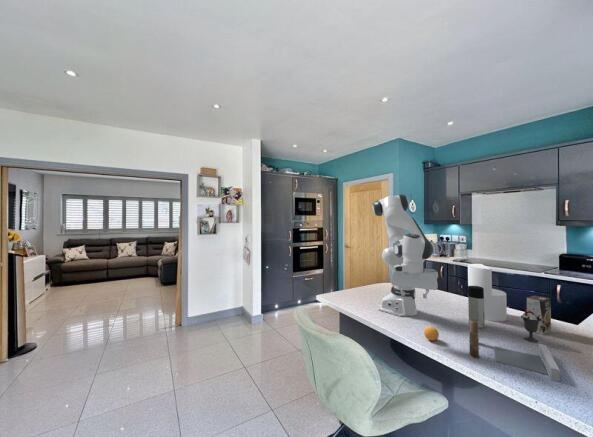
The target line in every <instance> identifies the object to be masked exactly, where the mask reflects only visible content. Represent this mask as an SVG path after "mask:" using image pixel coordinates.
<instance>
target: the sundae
mask: <svg viewBox="0 0 593 437" xmlns="http://www.w3.org/2000/svg"><path fill="white" fill-rule="evenodd" d="M523 307H524V308H525V310H524V313H523V314H522V315H520V318H522V320H523V324H524V325H523V326H524V329H525V331H528V334H529V335H528V336H525V337H523V339H524V340H525V341H527V342H530V343H538V344H539V340H538V339H536V338H534V334H535V333H536V331H537V329H538V323H539V321H541V319H540V318H539V317H540V315H539V316H538V317H537V316H536V314H535V313H533V312H531V311H527V305H526V306H523Z"/></svg>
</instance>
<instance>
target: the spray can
mask: <svg viewBox="0 0 593 437" xmlns="http://www.w3.org/2000/svg"><path fill="white" fill-rule="evenodd" d="M467 296H468V298H467V299H468V300H467V301H468V302H467V304H468V305H467V307H468V324H469V326H470V321H476V322H478V329H479V328H480V329H483V328H485V324H486V323H485V320H484V288H482V287H480V286H468V285H467Z"/></svg>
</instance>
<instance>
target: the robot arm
mask: <svg viewBox="0 0 593 437" xmlns="http://www.w3.org/2000/svg"><path fill="white" fill-rule="evenodd" d="M371 208H372V209H371V210H372V211H373V214H375V216H377V217H382V216H384V222H385V228H386V232H387V236H388V240H389V241H390V243H393V246H391V247H390V246H389V247H386V248H384V249H383V251H382V253H381V258H382V261H383V263H385V264H386V266H388V267H389V268H390V270H391V271H392V273H391V277H390V283H391V285H392V286H391V287H390V293H388V294H386V295H385V296H383V298H382V299H381V303H379V304H378V305H377V310H378V311H381V312H384V313H386V314H387V313H388V314H391V315H393V316H394V315H395V316H398V317H413V316H416V315H418V308H417V305H416V289H422V290H425V293H422V298H423V299H426V300H427V295H428V294H429V292H430V290H432V291H436V290H438V289H439V288H438V287H439V286H438V278H439V273H438V271H437V270H436V269H434V268H431V269H430V268H424V263H425V261H426V260H428V259H429V258H430V257H431V256H432V255H433V253H434V247H433V244H432V243H431V242H430V240H429V239H428V238H427V237H426V235H425V233H424V232H423V230H422V229H421V227H420V226H419V223H417V221H416V219H414V217H412V216H410V215H409V214H408V213H407V212H406V211H407V210H408V208H409V198H408V197H407V195H405V194H403V193H402V194H397V195H387V196H386V197H384V198H381V199H377V200H374V201H373V203H372V207H371ZM407 231H408V232H410V233H408V232H407Z"/></svg>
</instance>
